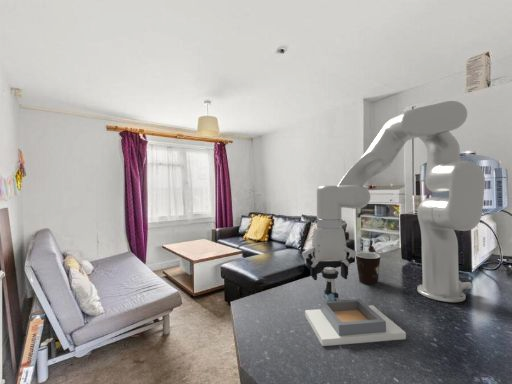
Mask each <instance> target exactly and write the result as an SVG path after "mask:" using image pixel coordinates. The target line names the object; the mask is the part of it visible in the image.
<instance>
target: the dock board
mask: <svg viewBox="0 0 512 384" xmlns="http://www.w3.org/2000/svg"><path fill="white" fill-rule="evenodd" d="M304 314H305V318H306V320H307V321H308V324H309V325H310V327H311V328H312V330H313V332H314V334H315V336H316V337H317V340H318V342H319V343H320V344H321V347H327V346H340V345H349V344H365V343H375V342H377V343H378V342H388V341H399V340H406V339H407V333H406V331H404V330H403V329H402V328H401V327H400V326H398V325H397V324H396V323H395V322H394V321H392V320H391V319H390V318H389V317H387V316H386V315H385V314H384V313H383V312H382V311H380V310H379V309H378V308H377V307H375V306H374V304H373V305H372V304H371V305H368V304H366V302H364V301H363V300H361V299H360V298H354V299H341V300H339V299H338V300H337V301H329V300H328V301H327V300H324V301H320V308H317V309H316V308H315V309H305V310H304Z"/></svg>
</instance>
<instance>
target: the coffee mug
mask: <svg viewBox="0 0 512 384" xmlns="http://www.w3.org/2000/svg"><path fill="white" fill-rule="evenodd" d="M355 262H356V267H357V274H358V279H359V280H358V281H359V283H361V284H363V285H366V284H368V286H375V285H378V283H379V275H380V274H379V273H380V266H381V265H380V264H381V254H378V253H373V252H356V255H355Z"/></svg>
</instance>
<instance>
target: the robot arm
mask: <svg viewBox="0 0 512 384" xmlns="http://www.w3.org/2000/svg"><path fill="white" fill-rule="evenodd" d="M467 118H468V110H467V107H466V106H465V105H464V103H462V102H459V101H456V100H447V101H442V102H438V103H432V104H430V105H429V104H428V105H425V106H420V107H416V108H411V109H408V110H405V111H403V112H402V113H401V112H400V113H399V114H397V115H395V116H393V117H391V118H390V119H388V120H387V121H386V122H385V123H384V124H383V126H382V128H381V129H380V130H379V132H378V134H377V135H376V137H374V139H373V141H372V142H371V144H370V145H369V146H368V148H367V149H366V151H365V152H364V154H362V156H361V157H359V159H358V160H357V161H356V162H355V163H354V164H353V165H352V166H351V167H350V168H349V170H347V172H346V173H345V175H344V176H343V177H342V179H341V180H340V182H339V183H338V185H320V186H318V187H317V189H316V227H314V229H313V233H312V240H311V247H309V248H307V249H305V250H304V251H302V252H301V254H302V257H303V258H304V261H306V263H307V264H308V265H310V273H309V274H310V276H311V278H312V279H313V280H314V281H317V280H318V267H317V265H318V264H319V262H341V264H340V276H341V278H343V279H344V280H348V276H349V267H350V265H351V263H352V262H354V259H355V258H356V256H355V255H356V254H357V252H356V250H354V249H352V248H349V247H348V246H347V240H346V236H345V231H344V228H343V226H345V225H346V224H347V223H346V220H343V219H342V215H343V214H342V208H347V209H352V210H353V209H355V210H357V209H358V210H359V209H362V208H364V207H367V205H368V204H369V203H370V201H371V192H370V191H369V190H368V188H367V187H365V185H366V184H367V183H368V181H370V180H371V179H372V178H374V177H376V176H377V175H379V174H381V173H383V172H384V171H386V170H387V169H388V168H390V166H391V165H392V164H393V162H394V161H395V159H396V157H398V154H399V153H400V151H402V149H403V147H404V146H405V144H406V143H407V142H408V141H411V140H414V139H416V138H419V139H420V140H421V141H422V143H423V145H425V147H426V152H427V153H426V158H427V159H426V167H425V169H426V170H425V178H424V179H425V180H424V181H425V187H426V189H428V190H429V191H430V192H431V193H432V192H433V193H437V194H448V196H447V197H446V196H444V197H443V196H442V197H441V196H432V197H427V198H425V199H423V200H422V201H421V202H420V203H419V204H418V206H417V210H416V213H417V214H416V215H417V219H418V224H419V228H420V235H421V237H420V238H421V264H422V265H421V267H422V272H421V273H422V274H421V275H422V284H421V283H420V284H418V285H417V292H418V293H419V294H421V296H424V297H426V298H428V299H431V300H435V301H439V302H443V303H444V302H446V303H460V302H461V303H462V302H464V301H465V300H466V294H465V293H464V292H463V290H468V289H472V288H473V287H474V284H473V283H472V282H470V281H466V282H464V281H463V282H462V281H461V280H460V279H459V277H460V275H459V243H458V242H459V241H458V237H457V235H456V232H455V230H456V231H461V232H462V231H463V232H466V231H471V230H474V229H475V228H476V227H478V225H479V223H480V221H481V219H482V216H483V207H484V197H485V186H486V179H485V173H484V172H483V169H482V168H481V166H479V164H477V163H475V162H473V161H469V160H461V159H460V158H461V156H460V155H461V154H460V153H461V147H460V144H459V141H458V139H456V137H455V136H454V135H453V134H452V133H451V131H455V130H457V129H459V128H460V127H461V126H463V124H464V123H465V121H467ZM347 253H349V255H347ZM310 254H311V257H312V258H311V259H310V257H309V255H310Z"/></svg>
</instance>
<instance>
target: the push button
mask: <svg viewBox="0 0 512 384" xmlns="http://www.w3.org/2000/svg"><path fill="white" fill-rule="evenodd" d="M320 271H321V272H320V274H321V277H322V278H324V279H325V289H323V297H324V299H325V301H337V300H340V298H339V293H337V291H336V281H335V280H336V279H338V276H339V274H340V273H339V271H338V270H336V268H335V267H331V266H326V267H324V268H323V269H322V270H320Z"/></svg>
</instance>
